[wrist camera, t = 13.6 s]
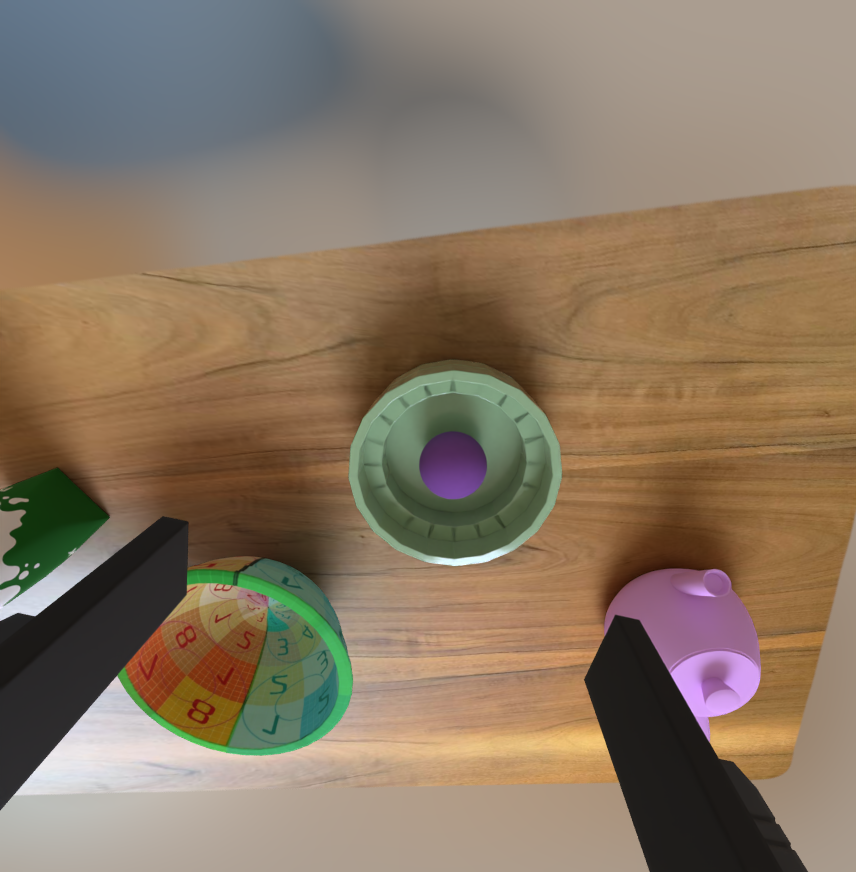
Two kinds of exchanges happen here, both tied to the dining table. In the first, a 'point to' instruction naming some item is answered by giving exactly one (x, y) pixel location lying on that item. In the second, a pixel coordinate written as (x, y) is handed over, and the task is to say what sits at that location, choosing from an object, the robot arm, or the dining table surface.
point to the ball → (453, 465)
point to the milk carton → (41, 529)
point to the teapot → (696, 636)
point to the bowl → (245, 660)
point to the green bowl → (503, 446)
